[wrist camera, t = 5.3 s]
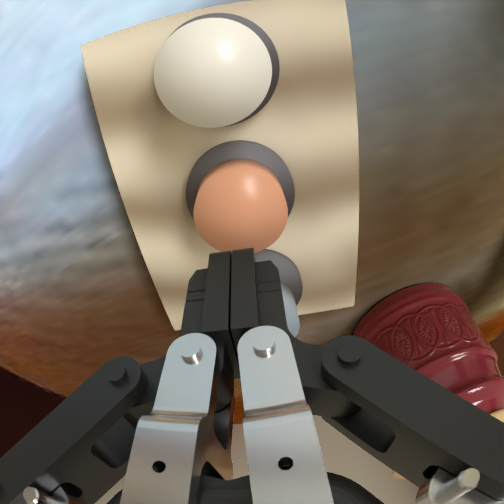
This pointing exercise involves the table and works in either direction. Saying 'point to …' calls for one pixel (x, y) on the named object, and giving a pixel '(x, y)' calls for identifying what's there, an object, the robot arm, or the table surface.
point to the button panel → (241, 148)
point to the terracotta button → (240, 206)
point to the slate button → (290, 310)
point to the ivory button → (212, 72)
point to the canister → (437, 343)
